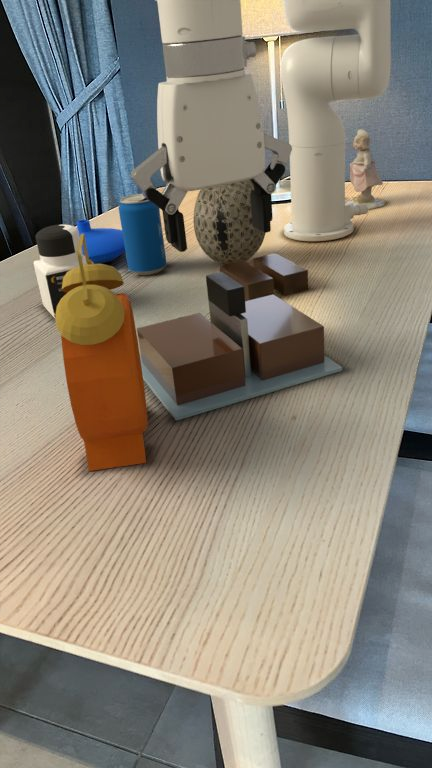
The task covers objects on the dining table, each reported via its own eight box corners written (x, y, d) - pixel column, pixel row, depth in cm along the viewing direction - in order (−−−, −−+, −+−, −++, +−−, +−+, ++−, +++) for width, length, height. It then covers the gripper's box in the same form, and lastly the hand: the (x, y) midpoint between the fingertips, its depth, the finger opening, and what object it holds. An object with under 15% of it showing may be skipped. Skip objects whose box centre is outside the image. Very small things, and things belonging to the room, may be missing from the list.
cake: (274, 323, 88) (273, 287, 86) (342, 371, 75) (342, 330, 72) (129, 362, 82) (123, 324, 79) (175, 421, 69) (169, 378, 66)
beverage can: (161, 276, 109) (151, 202, 103) (123, 277, 110) (111, 203, 104) (171, 263, 114) (162, 192, 108) (135, 264, 116) (124, 193, 110)
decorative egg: (274, 251, 115) (269, 161, 107) (260, 275, 105) (254, 177, 98) (209, 252, 118) (200, 164, 111) (189, 275, 108) (178, 180, 101)
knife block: (276, 271, 106) (275, 252, 104) (308, 289, 98) (308, 269, 96) (221, 284, 103) (219, 265, 101) (249, 304, 95) (248, 284, 93)
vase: (100, 242, 130) (93, 205, 126) (151, 255, 119) (146, 215, 116) (28, 265, 120) (19, 226, 117) (78, 281, 110) (69, 239, 107)
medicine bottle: (55, 320, 96) (37, 238, 90) (42, 305, 102) (24, 228, 96) (102, 308, 99) (87, 227, 93) (87, 294, 104) (72, 218, 99)
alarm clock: (153, 471, 61) (118, 261, 52) (85, 481, 61) (38, 271, 51) (147, 401, 73) (118, 218, 63) (90, 409, 72) (53, 226, 63)
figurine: (319, 203, 138) (334, 126, 134) (349, 208, 144) (365, 135, 140) (360, 210, 130) (378, 129, 126) (390, 215, 137) (408, 138, 133)
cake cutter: (223, 346, 82) (216, 268, 77) (256, 374, 75) (250, 290, 70) (208, 350, 82) (200, 271, 77) (240, 379, 74) (233, 294, 69)
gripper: (267, 50, 69) (276, 215, 77) (105, 72, 63) (133, 247, 72) (304, 51, 63) (309, 230, 71) (128, 75, 57) (156, 266, 66)
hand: (221, 238), depth 71 cm, fingers open, 9 cm apart
